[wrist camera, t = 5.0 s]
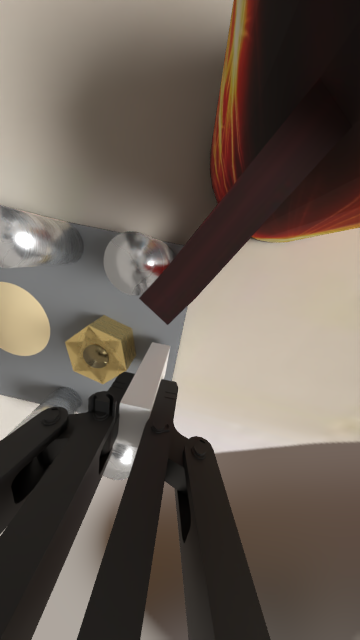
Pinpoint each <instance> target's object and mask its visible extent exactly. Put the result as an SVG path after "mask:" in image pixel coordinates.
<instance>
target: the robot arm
mask: <svg viewBox="0 0 360 640" xmlns="http://www.w3.org/2000/svg"><path fill="white" fill-rule="evenodd" d="M169 351H170V346H168V345H163V344H159V343H154V342H152V344H151V345H150V347H149V349H148V351H147V353H146V355H145V357H144V359H143V360H142V362H141V364H140V366H139V368H138V370H137V372H136V374H134V373H129V372H122V373H121V374H119V375H118V376H117V378H116V379H115V381H114V382H113V384H112V385H111V387H110V388H109V390H108V391H101V392H97V393H95V394H92V395H91V396H90V397H89V398H88V412H85V413H79V414H68V411H67V410H66V409H65V408H63V407H51V408H48V409H45V410H44V411H42V412H40V413H39V414H37V415H36V416H35V417H33V418H32V419H30V420H29V421H28V422H26V423H25V424H23V425H22V426H21V427H19V428H18V429H16V430H15V431H14V432H12V433H11V434H10V435H8V436H7V437H5V438H4V439H3V440H1V441H0V534H1V533H2V532H3V530H4V529H5V528H6V527H7V528H6V529H5V531H4V532H3V534H2V535H1V536H0V640H31V639H32V637H33V634H34V632H35V630H36V627H37V625H38V622H39V620H40V618H41V616H42V613H43V611H44V609H45V607H46V604H47V602H48V600H49V597H50V595H51V592H52V590H53V588H54V586H55V583H56V581H57V579H58V576H59V574H60V572H61V570H62V567H63V565H64V563H65V560H66V558H67V556H68V554H69V551H70V549H71V547H72V544H73V542H74V540H75V537H76V535H77V532H78V531H79V528H80V526H81V524H82V521H83V519H84V517H85V514H86V512H87V510H88V507H89V505H90V503H91V500H92V498H93V496H94V494H95V491H96V489H97V487H98V484H99V482H100V480H101V478H102V475H103V473H104V471H105V468H106V466H107V464H108V461H109V459H110V457H111V455H112V450H113V444H114V442H115V440H116V438H117V441H116V443H119V444H123V445H128V446H132V447H136V448H138V449H137V452H136V455H135V459H134V462H133V465H132V468H131V471H130V474H129V477H128V481H127V484H126V487H125V490H124V493H123V496H122V499H121V503H120V506H119V509H118V513H117V515H116V518H115V522H114V525H113V528H112V531H111V534H110V537H109V540H108V543H107V546H106V550H105V553H104V556H103V559H102V562H101V565H100V568H99V572H98V575H97V578H96V581H95V584H94V587H93V590H92V594H91V597H90V600H89V603H88V606H87V609H86V612H85V616H84V619H83V622H82V625H81V628H80V632H79V635H78V638H77V640H140V637H141V630H142V624H143V617H144V611H145V604H146V598H147V591H148V585H149V578H150V572H151V565H152V559H153V552H154V546H155V538H156V533H157V526H158V520H159V513H160V507H161V500H162V494H163V487H164V481H166V482H167V483H168V484H170V485H171V486H172V487H174V488H175V498H176V509H177V519H178V530H179V541H180V552H181V562H182V573H183V584H184V594H185V605H186V616H187V626H188V637H189V640H270V636H269V633H268V630H267V626H266V623H265V620H264V616H263V613H262V610H261V607H260V604H259V600H258V597H257V593H256V590H255V587H254V584H253V580H252V577H251V573H250V570H249V567H248V564H247V560H246V557H245V553H244V550H243V547H242V543H241V540H240V537H239V534H238V530H237V527H236V524H235V520H234V517H233V514H232V510H231V507H230V504H229V500H228V497H227V494H226V490H225V487H224V484H223V480H222V477H221V474H220V470H219V467H218V464H217V460H216V457H215V454H214V450H213V448H212V446H211V444H210V443H209V442H208V441H207V440H205V439H204V438H202V437H197V436H195V437H191V438H190V439H188V438H186V437H184V436H182V435H181V434H180V433H179V432H178V431H177V430H176V429H175V427H174V423H173V419H174V412H175V406H176V399H177V393H178V386H177V383H176V382H174V381H169V380H164V377H165V373H166V367H167V362H168V356H169Z"/></svg>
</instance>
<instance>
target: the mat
mask: <svg viewBox="0 0 360 640" xmlns="http://www.w3.org/2000/svg"><path fill="white" fill-rule="evenodd" d="M68 223H70V222H68ZM70 224H72V225H73V226H74V227H75V228H76V229H77V230H78V231H79V233H80V234H81V236H82V239H83V243H84V251H83V255H82V257H81V258H80V259H79V260H78V261H77V262H75V263H73V264H64V265H48V266H33V267H18V268H0V395H4V396H9V397H13V398H17V399H22V400H26V401H30V402H35V403H39V404H41V403H42V402H43V401H44V400H46V399H47V398H48V397H49V396H50V395H51V394H52V393H53V392H54V391H55V390H56V389H57V388H60V387H69V388H71V389H73V390H75V391H76V392H77V393H78V394H79V395H80V397H81V399H82V405H81V407H80V408H79V409H78V411H77V412H78V413H85V412H88V398H89V397H90V396H91V395H92V394H95V393H97V392H101V391H108V390H109V388H110V387H111V385H112V384H113V382H114V381H115V379H116V378H117V376H116V377H115V378H113V379H111V380H110V381H108V382H106V383H104V384H101V383H99V382H97V381H94V380H92V379H90V378H88V377H86V376H83V375H81V374H79V373H77V372H75V371H73V368H72V364H71V361H70V358H69V354H68V351H67V348H66V344H65V342H66V341H67V340H68V339H70V338H71V337H73V336H74V335H75V334H77V333H78V332H80V331H81V330H82V329H84V328H85V327H87V326H88V325H90V324H91V323H93V322H94V321H96V320H97V319H99V318H101V317H102V316H104V315H105V316H107V317H109V318H111V319H113V320H116V321H118V322H120V323H122V324H124V325H126V326H128V327H130V328H132V331H133V337H134V343H135V349H136V356H135V358H134V360H133V361H132V363H131V364H130V366H129V368H128V369H127V371H125V372H129V373H134V374H136V372H137V370H138V368H139V366H140V364H141V362H142V360H143V359H144V357H145V355H146V353H147V351H148V349H149V347H150V345H151V344H152V342H154V343H159V344H163V345H168V346H170V351H169V356H168V362H167V367H166V373H165V377H164V380H169V381H172V377H173V372H174V368H175V363H176V358H177V353H178V349H179V344H180V339H181V335H182V330H183V325H184V320H185V316H186V311H187V307H186V308H185V309H184V310H183V311H182V312H181V313H180V314H179V315H178V316H177V317H176V318H175V319H174V320H173V321H172V322H171V323H170V324H168V325H167V324H166V323H165V322H164V321H163V320H161V319H160V318H159V317H158V316H157V315H156V314H155V313H154V312H153V311H152V310H151V309H150V308H149V307H147V306H146V305H145V304H144V303H143V302H142V301H141V300H140V299H139V298H140V297H141V295H138V296H134V295H129V294H126V293H123V292H121V291H120V290H118V289H117V288H116V287H115V286H114V285H113V284H112V283H111V282H110V280H109V279H108V277H107V275H106V272H105V268H104V253H105V250H106V247H107V246H108V244H109V242H110V241H111V240H112V239H113V238H114V237H116V236H117V235H119V234H121V233H120V232H115V231H110V230H105V229H100V228H95V227H90V226H85V225H80V224H75V223H70ZM162 242H164V241H162ZM164 243H166V244H167V245H168V246H169V247H170V248H171V249H172V251H173V253H174V255H175V257H176V255H177V254H178V253H179V252H180V250H181V249H182V248H183V247H184V245H179V244H174V243H169V242H164Z"/></svg>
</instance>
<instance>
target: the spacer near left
mask: <svg viewBox="0 0 360 640" xmlns="http://www.w3.org/2000/svg"><path fill="white" fill-rule="evenodd" d="M83 251H84V243H83V239H82V236H81V234H80V233H79V231H78V230H77V229H76V228H75V227H74V226H73V225H72V224H70V223H68V222H65V221H61V220H57V219H53V218H49V217H45V216H41V215H38V214H34V213H30V212H26V211H22V210H18V209H14V208H10V207H6V206H2V205H0V268H18V267H33V266H48V265H64V264H73V263H75V262H77V261H78V260H79V259H80V258H81V257H82V255H83Z"/></svg>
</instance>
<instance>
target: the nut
mask: <svg viewBox="0 0 360 640" xmlns="http://www.w3.org/2000/svg"><path fill="white" fill-rule="evenodd" d="M65 344H66V348H67V351H68V354H69V358H70V361H71V364H72V368H73V371H75V372H77V373H79V374H81V375H83V376H86V377H88V378H90V379H92V380H94V381H97V382H99V383H101V384H104V383H106V382H108V381H110V380H111V379H113V378H115V377H116V376H118V375H119V374H121V373H122V372H125V371H127V369H128V368H129V366H130V364H131V363H132V361H133V360H134V358H135V356H136V349H135V343H134V337H133V331H132V328H130V327H128V326H126V325H124V324H122V323H120V322H118V321H116V320H113V319H111V318H109V317H107V316H105V315H104V316H102V317H101V318H99V319H97V320H96V321H94V322H93V323H91V324H90V325H88V326H87V327H85V328H84V329H82V330H81V331H80V332H78V333H77V334H75V335H74V336H73V337H71V338H70V339H68V340H67V341H66V342H65Z"/></svg>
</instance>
